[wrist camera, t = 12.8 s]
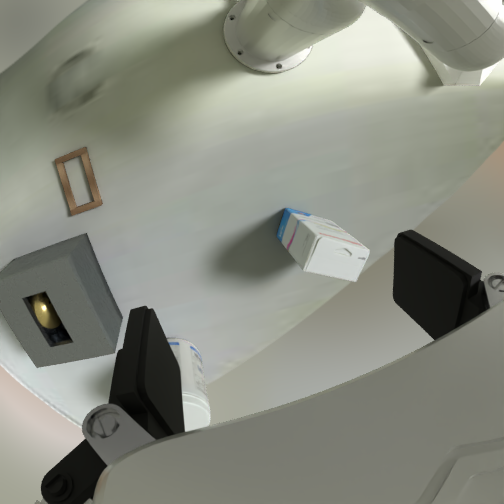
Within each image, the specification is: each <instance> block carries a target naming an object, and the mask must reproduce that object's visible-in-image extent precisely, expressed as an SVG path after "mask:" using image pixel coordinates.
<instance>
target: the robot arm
mask: <svg viewBox="0 0 504 504" xmlns="http://www.w3.org/2000/svg"><path fill="white" fill-rule="evenodd" d="M366 5H367V6H369V7H370V8H372V9H373V10H374V11H376V12H377V13H379V14H380V15H382V16H384V17H386V18H387V19H388V20H390V21H391V22H392V23H394V24H395V25H396V26H398V27H399V28H400V29H402V30H403V31H404V32H405V33H407V34H408V35H409V36H410V37H412V38H413V39H414V40H415V41H416V42H418V43H419V44H420V45H421V46H422V47H424V48H425V49H426V50H427V51H428V52H430V53H431V54H432V55H433V56H435V57H436V58H437V59H438V60H439V61H441V62H442V63H444V64H445V65H447V66H449V67H451V68H454V69H456V70H460V71H467V72H469V71H478V70H482V69H485V68H488V67H490V66H492V65H494V64H496V63H497V62H499V61H500V60H501V59H503V58H504V0H241V1H239V2H237V3H236V4H235V5H234V6H233V7H232V8H231V10H230V11H229V13H228V14H227V16H226V19H225V22H224V26H223V35H224V39H225V43H226V45H227V47H228V49H229V51H230V52H231V53H232V55H233V56H234V57H235V58H236V59H237V60H238V61H239V62H241V63H242V64H244V65H245V66H247V67H249V68H251V69H254V70H257V71H261V72H266V73H279V72H284V71H288V70H290V69H292V68H294V67H296V66H298V65H299V64H301V63H302V62H303V61H304V60H305V59H306V58H307V57H308V55H309V54H310V52H311V50H312V47H313V45H314V44H316V43H317V42H319V41H321V40H323V39H325V38H327V37H329V36H331V35H333V34H335V33H337V32H339V31H341V30H343V29H345V28H347V27H349V26H350V25H352V24H353V23H355V22H356V21H357V20H358V19H359V18H360V16H361V15H362V13H363V11H364V9H365V7H366ZM230 18H232V19H233V20H230ZM238 52H240V53H241V55H238ZM276 66H278V67H279V68H278V69H277V68H276ZM481 273H482V271H480V270H479V269H477V268H476V267H474V266H473V265H471V264H469V263H468V262H466V261H465V260H463V259H461V258H459V257H458V256H456V255H455V254H453V253H451V252H450V251H448V250H446V249H445V248H443V247H441V246H440V245H438V244H436V243H435V242H433V241H431V240H429V239H428V238H426V237H424V236H422V235H421V234H419V233H417V232H415V231H413V230H407V231H404V232H401V233H399V234H398V235H397V238H396V239H395V242H394V280H393V299H394V301H395V303H396V304H397V305H398V306H400V307H401V308H402V309H403V310H404V311H405V312H406V313H407V314H408V315H409V316H410V317H411V318H412V319H413V320H414V321H415V322H416V323H417V324H419V325H420V326H421V327H422V328H423V329H424V330H425V331H426V332H427V333H428V334H429V335H430V336H431V337H432V338H433V339H434V341H433V342H431V343H429V344H427V345H425V346H423V347H421V348H420V349H417V350H415V351H414V352H411V353H409V354H408V355H405V356H403V357H401V358H399V359H397V360H395V361H393V362H391V363H389V364H386V365H384V366H382V367H380V368H378V369H376V370H373V371H371V372H369V373H366V374H364V375H362V376H360V377H357V378H355V379H352V380H350V381H347V382H345V383H342V384H340V385H337V386H335V387H332V388H329V389H327V390H324V391H322V392H319V393H317V394H313V395H311V396H308V397H305V398H302V399H299V400H296V401H293V402H290V403H287V404H285V405H281V406H278V407H275V408H272V409H269V410H265V411H262V412H258V413H255V414H251V415H248V416H244V417H241V418H237V419H234V420H230V421H226V422H223V423H219V424H214V425H211V426H206V427H202V428H198V429H194V430H190V431H186V432H185V424H184V413H183V400H182V385H181V371H180V366H179V364H178V361H177V359H176V357H175V355H174V353H173V351H172V349H171V347H170V345H169V342H168V340H167V338H166V336H165V334H164V332H163V329H162V327H161V325H160V323H159V320H158V318H157V316H156V314H155V311H154V310H153V309H152V308H151V309H148V308H147V306H142V307H139V308H135V309H131V310H130V314H129V319H128V323H127V328H126V333H125V339H124V344H123V349H120V350H119V351H118V353H117V357H116V362H115V367H114V373H113V378H112V384H111V390H110V397H109V403H108V404H103V405H100V406H97V407H96V408H94V409H93V410H91V411H90V412H89V413H88V414H87V416H86V417H85V419H84V421H83V425H82V432H83V434H84V436H85V438H86V439H85V440H84V441H82V442H81V443H80V444H79V445H78V446H77V447H76V448H75V449H73V450H72V451H71V452H70V453H69V454H68V455H67V456H66V457H64V458H63V459H62V460H61V461H60V462H59V463H58V464H57V465H56V466H55V467H53V468H52V469H51V470H50V471H49V472H48V473H47V474H46V475H45V476H44V478H43V480H42V484H41V493H42V496H43V499H42V501H41V502H39V501H38V500H37V501H36V503H35V504H504V274H502V273H491V274H488V275H487V276H485V278H484V281H481V280H480V278H481Z"/></svg>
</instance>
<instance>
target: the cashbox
mask: <svg viewBox="0 0 504 504" xmlns="http://www.w3.org/2000/svg"><path fill="white" fill-rule="evenodd" d="M44 291H46V293H47V295H48V297H49V299H50V301H51V303H52V304H53V306H54V308H55V310H56V312H57V314H58V316H59V317H60V319H61V321H62V323H61V324H60V325H59V326H58V327H56V328H52V329H50V328H45V327H42V325H41V324H40V322H39V320H38V318H37V317H36V315H35V313H34V311H33V309H32V308H31V306H30V304H29V302H28V299H29V296H31V295H34V294H38V293H41V292H44ZM0 310H1V312H2V313H3V315H4V317H5V319H6V321H7V322H8V324H9V326H10V327H11V329H12V331H13V332H14V334H15V336H16V337H17V339H18V340H19V342H20V343H21V345H22V347H23V348H24V350H25V351H26V353H27V354H28V356H29V357H30V359H31V360H32V361H33V363H34V364H35V366H36V367H37V368H38V367H44V366H50V365H56V364H62V363H67V362H73V361H78V360H83V359H89V358H94V357H99V356H104V355H109V354H113V353H115V350H116V345H117V341H118V336H119V332H120V327H121V323H122V319H123V317H122V314H121V312H120V310H119V308H118V306H117V304H116V302H115V300H114V298H113V295H112V293H111V291H110V289H109V286H108V284H107V282H106V280H105V277H104V275H103V273H102V270H101V268H100V265H99V263H98V261H97V258H96V256H95V253H94V251H93V248H92V246H91V243H90V240H89V238H88V235H87V233H85V234H82V235H79V236H76V237H73V238H71V239H68V240H65V241H62V242H59V243H56V244H54V245H51V246H48V247H45V248H43V249H40V250H37V251H34V252H32V253H29V254H27V255H24V256H21V257H19V258H16V259H14V260H13V261H12V262H10V263H9V265H8V266H7V267H6V268H5V269H4V270H3V271H2V272H1V273H0Z"/></svg>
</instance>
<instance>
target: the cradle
mask: <svg viewBox="0 0 504 504" xmlns="http://www.w3.org/2000/svg"><path fill="white" fill-rule="evenodd" d="M80 155H81V157H82V161H83V165H84V168H85V172H86V175H87V179H88V182H89V185H90V189H91V192H92V195H93V198H94V201H92V202H89V203H87V204H84V205H81V206H78V207H77V206H76V203H75V200H74V197H73V193H72V190H71V187H70V184H69V180H68V177H67V174H66V170H65V167H64V163H63V162H65V161H67V160H70V159H72V158H75V157H77V156H80ZM55 163H56V165H57V168H58V172H59V175H60V179H61V182H62V185H63V189H64V192H65V195H66V198H67V201H68V204H69V207H70V212H71V215H72V216H73V215H75V214H78V213H81V212H84V211H87V210H89V209H92V208H95V207H98V206H101V205H102V204H103V203H102V200H101V197H100V194H99V190H98V187H97V184H96V180H95V177H94V174H93V170H92V167H91V163H90V159H89V156H88V152H87V148H86V147H84V148H81V149H79V150H76V151H74V152H71V153H69V154H67V155H64V156H62V157H59V158H57V159H55Z"/></svg>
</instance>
